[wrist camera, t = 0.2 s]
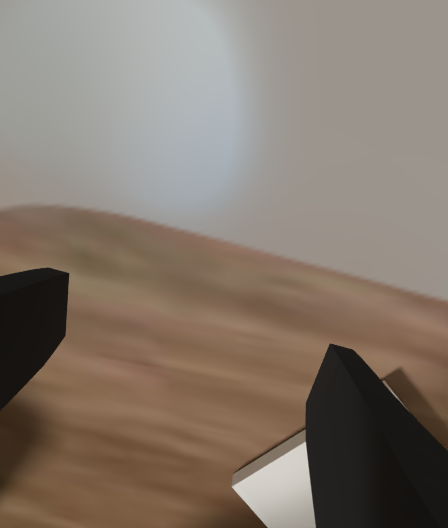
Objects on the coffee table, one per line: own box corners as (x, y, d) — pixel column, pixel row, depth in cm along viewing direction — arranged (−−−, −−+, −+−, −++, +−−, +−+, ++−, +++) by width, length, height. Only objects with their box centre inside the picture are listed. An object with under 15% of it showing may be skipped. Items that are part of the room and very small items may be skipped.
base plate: (338, 594, 24) (341, 611, 23) (233, 474, 23) (231, 486, 22) (493, 517, 21) (504, 533, 20) (384, 380, 20) (390, 389, 19)
